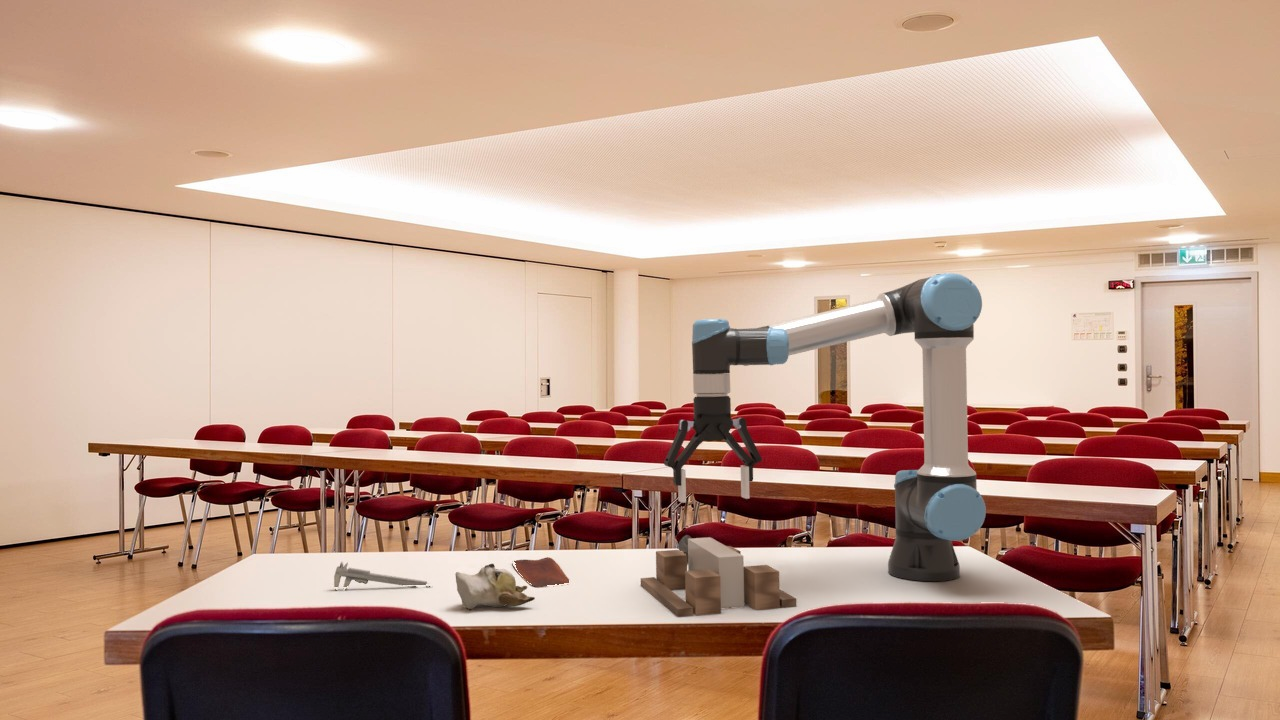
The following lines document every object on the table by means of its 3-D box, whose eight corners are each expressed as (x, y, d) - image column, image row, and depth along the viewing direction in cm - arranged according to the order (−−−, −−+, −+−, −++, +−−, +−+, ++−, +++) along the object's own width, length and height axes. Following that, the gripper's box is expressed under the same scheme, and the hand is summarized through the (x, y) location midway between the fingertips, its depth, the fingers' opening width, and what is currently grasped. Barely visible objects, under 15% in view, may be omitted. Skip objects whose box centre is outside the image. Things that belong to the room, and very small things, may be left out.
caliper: (334, 592, 195) (333, 562, 195) (335, 591, 197) (334, 561, 197) (432, 588, 198) (431, 559, 198) (432, 587, 199) (432, 558, 199)
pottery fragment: (731, 565, 217) (731, 546, 217) (681, 565, 216) (681, 547, 216) (722, 551, 232) (722, 534, 232) (675, 552, 231) (675, 535, 231)
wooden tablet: (510, 565, 221) (509, 558, 221) (551, 562, 224) (551, 555, 224) (527, 591, 195) (527, 583, 195) (574, 587, 198) (574, 579, 198)
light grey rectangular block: (710, 584, 198) (710, 537, 198) (744, 607, 178) (743, 555, 178) (688, 585, 196) (687, 538, 196) (719, 609, 177) (718, 557, 177)
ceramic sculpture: (453, 558, 185) (528, 557, 189) (451, 601, 185) (526, 600, 189) (458, 570, 174) (536, 569, 178) (456, 616, 174) (534, 614, 178)
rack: (745, 576, 203) (745, 545, 203) (796, 606, 178) (795, 569, 178) (640, 585, 197) (640, 552, 197) (677, 616, 172) (677, 579, 172)
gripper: (761, 393, 195) (763, 493, 194) (647, 396, 188) (650, 500, 188) (776, 393, 187) (778, 498, 187) (658, 397, 181) (660, 506, 181)
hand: (714, 499), depth 187 cm, fingers open, 13 cm apart
